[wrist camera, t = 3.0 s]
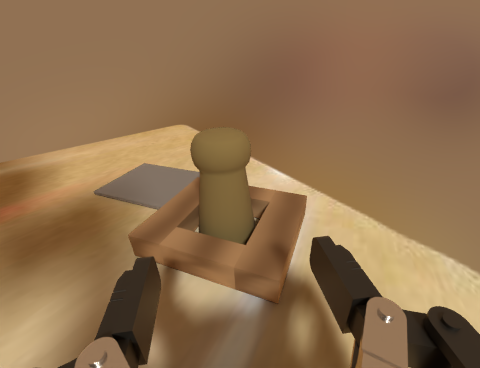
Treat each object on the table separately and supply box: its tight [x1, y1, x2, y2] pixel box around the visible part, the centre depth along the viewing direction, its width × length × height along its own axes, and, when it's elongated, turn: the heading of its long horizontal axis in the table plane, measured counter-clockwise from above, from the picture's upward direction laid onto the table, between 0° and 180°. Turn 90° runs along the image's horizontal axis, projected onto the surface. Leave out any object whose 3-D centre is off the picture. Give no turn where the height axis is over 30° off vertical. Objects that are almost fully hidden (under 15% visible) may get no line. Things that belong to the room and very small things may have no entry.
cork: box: [190, 127, 256, 245], centre depth 23 cm, size 6×6×11 cm
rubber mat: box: [94, 163, 200, 209], centre depth 35 cm, size 12×10×1 cm
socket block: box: [128, 177, 307, 304], centre depth 25 cm, size 14×12×2 cm
